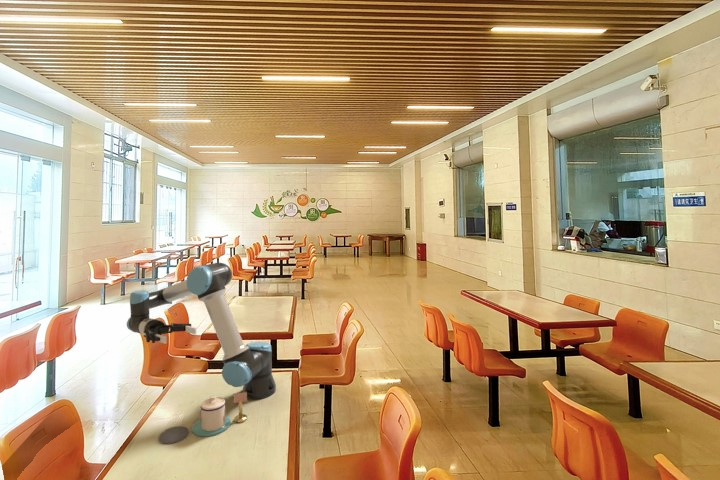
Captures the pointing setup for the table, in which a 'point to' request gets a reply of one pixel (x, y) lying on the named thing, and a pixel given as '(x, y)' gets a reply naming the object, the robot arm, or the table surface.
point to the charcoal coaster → (174, 435)
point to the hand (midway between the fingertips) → (181, 335)
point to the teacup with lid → (213, 413)
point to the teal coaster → (200, 432)
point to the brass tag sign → (240, 406)
